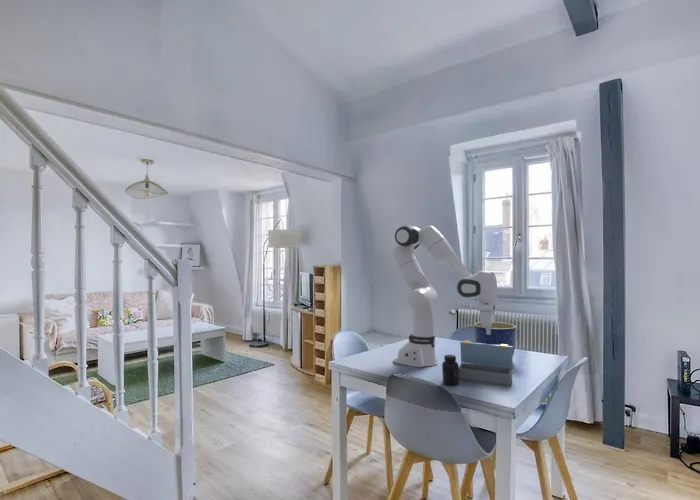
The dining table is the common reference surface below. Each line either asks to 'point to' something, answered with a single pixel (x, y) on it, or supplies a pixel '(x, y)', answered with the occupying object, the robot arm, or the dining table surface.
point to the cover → (487, 354)
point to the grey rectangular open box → (485, 374)
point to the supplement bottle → (450, 371)
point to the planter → (496, 334)
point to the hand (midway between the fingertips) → (488, 334)
